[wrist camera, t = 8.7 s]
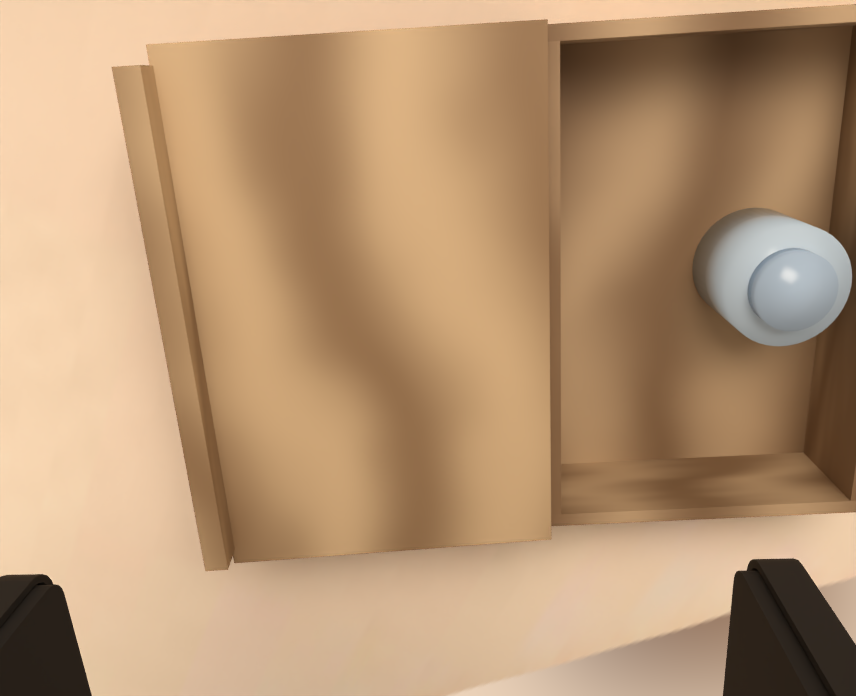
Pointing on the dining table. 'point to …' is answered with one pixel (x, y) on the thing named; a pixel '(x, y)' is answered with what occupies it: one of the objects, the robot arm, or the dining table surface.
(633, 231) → the box
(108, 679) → the dining table surface
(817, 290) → the blue jar
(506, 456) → the lid
